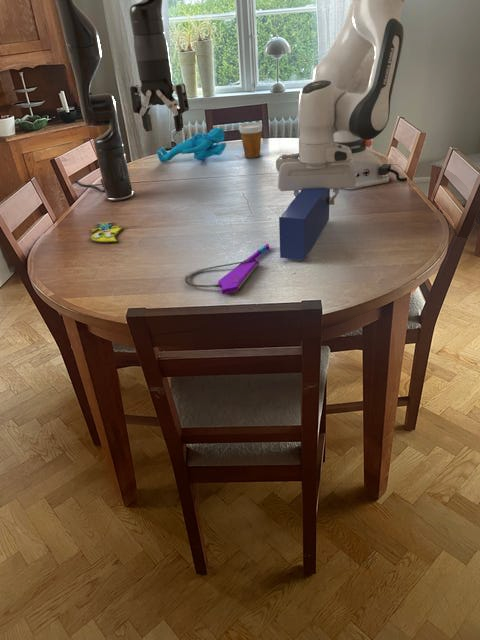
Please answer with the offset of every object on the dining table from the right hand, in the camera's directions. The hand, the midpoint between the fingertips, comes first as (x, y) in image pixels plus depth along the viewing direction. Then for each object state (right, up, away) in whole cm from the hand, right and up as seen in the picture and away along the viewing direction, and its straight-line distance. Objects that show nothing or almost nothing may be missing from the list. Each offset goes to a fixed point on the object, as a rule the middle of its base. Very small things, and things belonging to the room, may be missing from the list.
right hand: (316, 204), depth 130 cm
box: (-3, -10, -5) cm, 11 cm away
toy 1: (-60, -6, +11) cm, 61 cm away
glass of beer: (-15, +38, +73) cm, 83 cm away
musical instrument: (-23, -20, -15) cm, 34 cm away
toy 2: (-41, +37, +74) cm, 92 cm away
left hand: (-40, +16, -11) cm, 44 cm away
